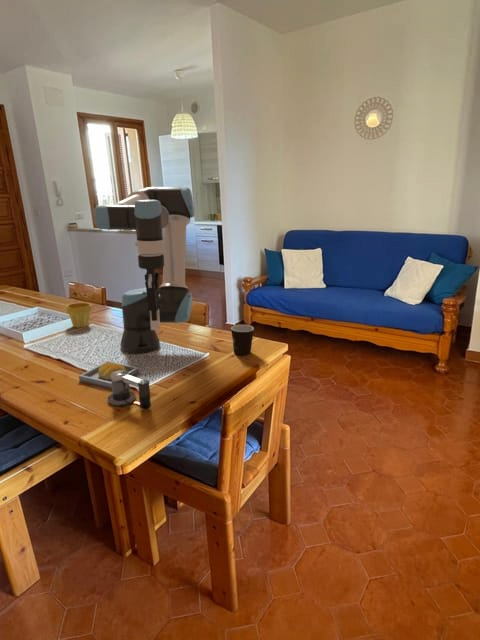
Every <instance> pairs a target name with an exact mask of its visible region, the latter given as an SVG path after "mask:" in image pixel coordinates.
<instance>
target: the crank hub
mask: <svg viewBox="0 0 480 640" xmlns="http://www.w3.org/2000/svg"><path fill="white" fill-rule="evenodd" d="M111 383H112V389H111V390H112V393H111V394H109V395H108V396H107V404H108V405H110V406H113V407H119V408H120V407H124V406H125V407H126V406H130V405H131V404H133V405H137V406H140V401H136V400H137V399H136V397H137V396H136V393H135V392H134V391H131V387H130V386H131V385H130V384H128V383H125V382H113V381H112V380H111Z"/></svg>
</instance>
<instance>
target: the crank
mask: <svg viewBox="0 0 480 640" xmlns="http://www.w3.org/2000/svg"><path fill="white" fill-rule="evenodd" d="M111 380H112V381H113V382H125V383H128V384H129V385H130V386H134V387H136V388H138V398H139V399H138V400H139V401H138V402H140V405H139V408H140V409H142V410H147V409H149V408H151V407H152V405H151V391H150V390H151V389H150V380H147V379H141V378H139V377H136V376H131V375H129V373H128V371H125V370H118V371H115V372H113V373H111Z"/></svg>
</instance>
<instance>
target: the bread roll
mask: <svg viewBox="0 0 480 640" xmlns="http://www.w3.org/2000/svg"><path fill="white" fill-rule="evenodd" d="M115 363H116V362H115ZM115 363H106V364H104V365H102V366H101V367H100V368H99V371H98V375H99V377H100V378H102V379H106V380H111V373H113V372H115V371H118V370H125V371H126V369H125V367H124V366H122V365H120V364H121V363H120V364H115Z"/></svg>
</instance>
